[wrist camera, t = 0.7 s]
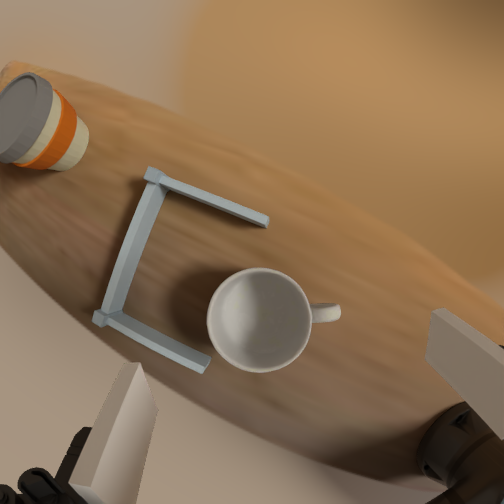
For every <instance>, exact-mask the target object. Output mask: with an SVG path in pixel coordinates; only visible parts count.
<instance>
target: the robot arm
mask: <svg viewBox="0 0 504 504" xmlns="http://www.w3.org/2000/svg"><path fill="white" fill-rule="evenodd" d="M425 360H426V361H427V362H428V363H429V364H430V365H431V366H432V367H433V368H434V369H435V370H436V371H437V372H438V373H439V374H440V375H441V376H442V377H443V378H444V379H445V380H446V382H447V383H448V384H449V385H450V386H451V387H452V388H453V389H454V390H455V391H456V392H457V393H458V394H459V395H460V396H461V397H462V398H463V399H464V400H465V401H466V402H463V403H461V404H458V405H456V406H454V407H453V408H451V409H450V410H448V411H447V412H445V413H444V414H443V415H442V416H441V417H440V418H439V419H437V420H436V422H435V423H434V424H433V425H432V426H431V427H430V428H429V430H428V431H427V433H426V434H425V436H424V437H423V439H422V441H421V443H420V445H419V448H418V452H417V463H418V466H419V468H420V469H421V471H422V472H423V473H424V475H426V476H427V477H428V478H430V479H432V480H434V481H436V482H438V483H440V484H442V485H444V486H446V487H447V488H448V490H446V491H445V492H443V493H442V494H440V495H439V496H437V497H436V498H434V499H432V500H431V501H429V502H427V503H426V504H504V346H502V345H497V344H496V343H494V342H493V341H491V340H490V339H489V338H487V337H486V336H484V335H483V334H482V333H480V332H479V331H477V330H476V329H474V328H473V327H472V326H470V325H469V324H467V323H466V322H464V321H463V320H461V319H460V318H458V317H457V316H455V315H454V314H453V313H451V312H450V311H448V310H447V309H445V308H444V307H443V308H440V309H437V310H433V311H431V320H430V328H429V336H428V343H427V349H426V355H425ZM157 412H158V408H157V406H156V403H155V401H154V398H153V396H152V393H151V390H150V388H149V385H148V383H147V380H146V377H145V375H144V372H143V369H142V366H141V363H140V362H137V363H124V364H123V366H122V368H121V370H120V372H119V374H118V377H117V378H116V380H115V382H114V384H113V386H112V388H111V390H110V392H109V394H108V396H107V398H106V400H105V403H104V404H103V407H102V409H101V411H100V413H99V415H98V417H97V419H96V421H95V423H94V426H93V428H91V427H83V428H82V429H81V430H80V431H79V432H78V433H77V434H76V435H75V436H74V438H73V440H72V442H71V444H70V447H69V449H68V451H67V455H65V457H64V459H63V461H62V463H61V466H60V467H59V470H58V472H57V474H56V476H55V478H53V477H52V476H51V474H50V473H49V472H48V471H46V470H45V469H43V468H37V467H36V468H32V469H29V470H27V471H25V472H24V473H23V474H22V475H21V476H20V478H19V480H18V489H19V490H20V491H21V492H22V493H23V494H17V493H16V492H15V491H14V490H13V489H12V488H11V487H9V486H8V485H4V484H0V504H136V500H137V495H138V491H139V487H140V482H141V477H142V473H143V469H144V465H145V461H146V456H147V452H148V448H149V444H150V440H151V436H152V432H153V428H154V424H155V420H156V416H157Z"/></svg>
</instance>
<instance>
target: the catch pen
mask: <svg viewBox="0 0 504 504" xmlns="http://www.w3.org/2000/svg"><path fill="white" fill-rule="evenodd" d="M143 179H145V180H147V181H148V183H147V186H146V188H145V190H144V192H143V195H142V197H141V199H140V202H139V204H138V207H137V209H136V211H135V214H134V216H133V219H132V221H131V224H130V226H129V229H128V231H127V234H126V237H125V239H124V242H123V245H122V247H121V250H120V253H119V256H118V258H117V261H116V264H115V267H114V270H113V273H112V276H111V279H110V282H109V285H108V288H107V291H106V294H105V297H104V300H103V304H102V307H101V309H98V310H95V311H94V314H93V318H92V322H93V323H95V324H96V325H98V326H100V327H104V326H106V325H109V326H111V327H113V328H115V329H116V330H118V331H120V332H121V333H123V334H125V335H127V336H128V337H130V338H132V339H134V340H136V341H137V342H139V343H141V344H143V345H145V346H147V347H148V348H150V349H152V350H154V351H156V352H158V353H160V354H162V355H164V356H166V357H168V358H170V359H172V360H174V361H176V362H178V363H180V364H182V365H184V366H186V367H188V368H190V369H192V370H194V371H197V372H199V373H201V374H203V372H204V371H205V369H206V367H207V366H208V364H209V363H210V360H211V358H212V357H210V356H208V355H206V354H203V353H201V352H199V351H197V350H195V349H193V348H191V347H189V346H186V345H184V344H182V343H180V342H178V341H176V340H174V339H172V338H170V337H168V336H166V335H164V334H162V333H160V332H158V331H156V330H154V329H152V328H151V327H149V326H147V325H145V324H143V323H141V322H139V321H137V320H136V319H134V318H132V317H130V316H128V315H127V314H125V313H123V310H122V308H123V305H124V302H125V299H126V296H127V293H128V290H129V287H130V285H131V282H132V279H133V276H134V273H135V271H136V268H137V265H138V262H139V260H140V257H141V254H142V252H143V249H144V246H145V244H146V241H147V239H148V236H149V234H150V231H151V229H152V226H153V224H154V221H155V219H156V217H157V214H158V212H159V209H160V207H161V205H162V202H163V200H164V198H165V195H166V193H167V191H168V192H169V190H172V191H174V192H177V193H179V194H182V195H184V196H187V197H190V198H192V199H195V200H197V201H200V202H202V203H205V204H207V205H210V206H212V207H215V208H217V209H220V210H222V211H225V212H227V213H230V214H232V215H234V216H237V217H239V218H242V219H244V220H247V221H249V222H252V223H254V224H256V225H259V226H261V227H264V228H267V226H268V223H269V217H268V216H266V215H264V214H261V213H259V212H256V211H254V210H251V209H249V208H246V207H244V206H241V205H239V204H236V203H234V202H231V201H229V200H226V199H224V198H221V197H219V196H216V195H213V194H211V193H208V192H206V191H203V190H201V189H198V188H195V187H193V186H190V185H187V184H185V183H182V182H180V181H177V180H174V179H172V178H169V177H168V176H167V175H165V174H164V173H163V172H162V171H160V170H158V169H155V168H153V167H150V166H149V167H148V169H147V171H146V173H145V176H144V178H143Z"/></svg>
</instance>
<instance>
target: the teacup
mask: <svg viewBox="0 0 504 504" xmlns="http://www.w3.org/2000/svg"><path fill="white" fill-rule="evenodd" d="M340 315H341V310H340V306H339V305H338V304H335V303H320V304H309V302H308V299H307V297H306V295H305V293H304V292H303V290H302V289H301V287H300V286H299V285H298V284H297V283H296V282H295V281H294V280H293V279H292V278H290V277H289V276H287V275H285V274H283V273H281V272H279V271H277V270H272V269H268V268H249V269H245V270H242V271H239V272H237V273H235V274H233V275H232V276H230V277H228V278H227V279H226V280H225V281H224V282H223V283H222V284H221V285H220V286H219V287H218V288H217V289H216V291H215V292H214V294H213V296H212V298H211V301H210V303H209V307H208V312H207V329H208V333H209V337H210V340H211V342H212V344H213V346H214V348H215V349H216V350H217V352H218V353H219V354H220V355H221V356H222V357H223V358H224V359H225V360H226V361H227V362H229V363H230V364H232V365H233V366H235V367H237V368H240V369H242V370H246V371H250V372H260V373H265V372H270V371H274V370H278V369H280V368H283V367H285V366H286V365H288V364H290V363H291V362H292V361H293V360H295V359H296V358H297V357H298V356H299V355H300V354H301V352H302V351H303V349H304V348H305V346H306V344H307V342H308V340H309V337H310V333H311V327H312V323H319V322H331V321H335V320H337V319H339V318H340Z"/></svg>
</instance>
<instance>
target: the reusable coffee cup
mask: <svg viewBox="0 0 504 504" xmlns="http://www.w3.org/2000/svg"><path fill="white" fill-rule="evenodd" d="M88 141H89V132H88V128H87V126H86V125H85V124H84V123H83V121H82V120H81V119H80V118H79V117H78V116H77V115H76V112H75V110H74V108H73V107H72V106H71V105H70V104H69V102H68V101H67V100H66V99H65V98H64V97H63V96H62V95H61V94H60V92H58V91H57V90H54V89H52V86H51V84H50V83H49V82H48V81H47V80H45V79H43V78H41V77H40V76H38V75H36V74H34V73H30V72H28V73H24V74H21V75H19V76H18V77H16V78H15V79H13V80H12V81H11V82H10V83H9V84H8V85H7V86H6V87H5V88H4V89H3V90H2V91H1V93H0V162H2V163H13V164H14V165H16V166H20V167H26V168H32V169H37V170H44V169H52V170H57V171H65V170H68V169H70V168H72V167H73V166H74V165H76V164H77V163H78V161H79V160H80V159H81V158H82V156H83V155H84V153H85V151H86V148H87V145H88Z"/></svg>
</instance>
